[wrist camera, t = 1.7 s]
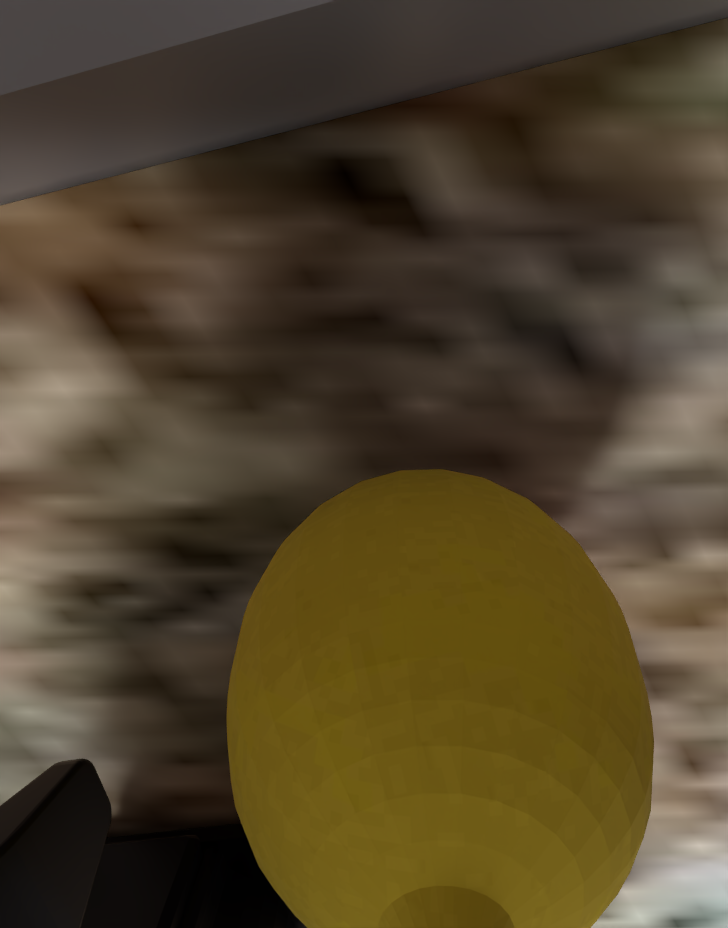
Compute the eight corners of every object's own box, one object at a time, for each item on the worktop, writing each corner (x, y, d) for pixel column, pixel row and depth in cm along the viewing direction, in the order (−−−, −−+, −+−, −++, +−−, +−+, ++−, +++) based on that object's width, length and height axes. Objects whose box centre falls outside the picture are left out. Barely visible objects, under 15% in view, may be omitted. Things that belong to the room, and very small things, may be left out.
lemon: (510, 373, 11) (735, 614, 4) (586, 615, 13) (855, 1136, 5) (245, 468, 12) (-14, 818, 5) (346, 683, 14) (278, 1207, 6)
